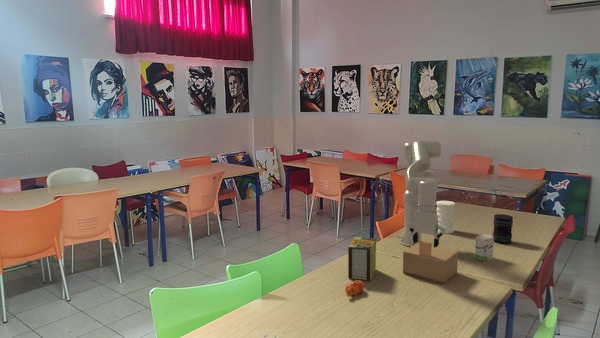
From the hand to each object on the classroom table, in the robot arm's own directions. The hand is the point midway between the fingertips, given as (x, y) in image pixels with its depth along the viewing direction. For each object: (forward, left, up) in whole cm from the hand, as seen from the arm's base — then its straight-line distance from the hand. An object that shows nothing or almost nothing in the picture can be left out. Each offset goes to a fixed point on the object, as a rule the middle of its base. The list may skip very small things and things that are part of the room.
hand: (425, 244), depth 201 cm
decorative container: (-20, +77, -16) cm, 81 cm away
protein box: (-25, -13, -16) cm, 33 cm away
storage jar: (+14, +76, -16) cm, 79 cm away
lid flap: (0, +7, -6) cm, 9 cm away
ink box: (+14, +42, -16) cm, 47 cm away
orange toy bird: (-17, -34, -16) cm, 41 cm away
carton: (0, +7, -16) cm, 17 cm away
